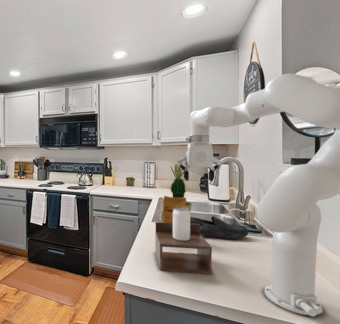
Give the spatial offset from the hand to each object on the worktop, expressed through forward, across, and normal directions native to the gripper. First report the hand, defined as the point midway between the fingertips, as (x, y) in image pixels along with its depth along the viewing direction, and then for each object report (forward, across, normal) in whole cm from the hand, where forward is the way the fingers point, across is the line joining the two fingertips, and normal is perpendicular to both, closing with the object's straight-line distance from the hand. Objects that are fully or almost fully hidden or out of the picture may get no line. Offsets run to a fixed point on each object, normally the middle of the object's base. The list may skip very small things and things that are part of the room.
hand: (198, 180), depth 95 cm
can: (+22, -9, -9) cm, 26 cm away
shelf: (+32, -9, -9) cm, 35 cm away
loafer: (+32, +16, +24) cm, 43 cm away
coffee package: (+32, -7, +16) cm, 37 cm away
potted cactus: (+32, -1, +35) cm, 48 cm away
